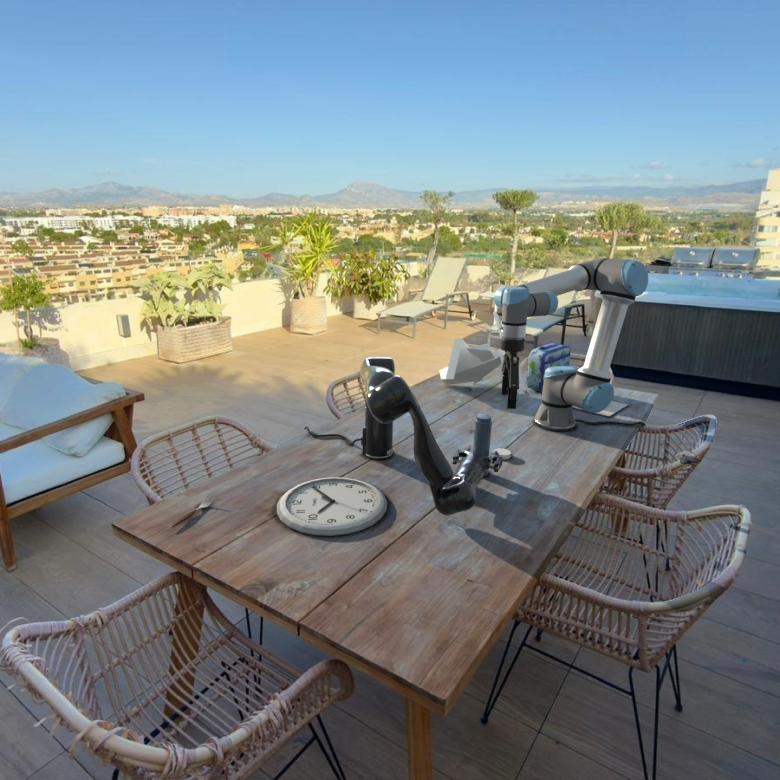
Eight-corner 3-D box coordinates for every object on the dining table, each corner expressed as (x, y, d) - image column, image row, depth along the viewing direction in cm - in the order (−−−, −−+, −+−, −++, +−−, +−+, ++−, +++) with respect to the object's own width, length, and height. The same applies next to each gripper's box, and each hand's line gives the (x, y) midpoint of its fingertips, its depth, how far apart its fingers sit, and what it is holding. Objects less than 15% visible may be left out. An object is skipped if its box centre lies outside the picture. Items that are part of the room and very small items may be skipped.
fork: (167, 528, 130) (166, 521, 130) (209, 498, 145) (208, 492, 144) (175, 530, 130) (174, 523, 129) (216, 500, 144) (216, 494, 143)
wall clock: (392, 527, 129) (268, 531, 127) (391, 533, 130) (269, 537, 127) (383, 473, 158) (282, 475, 155) (383, 478, 158) (282, 480, 156)
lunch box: (542, 395, 240) (547, 351, 233) (522, 390, 247) (526, 347, 241) (569, 384, 257) (575, 343, 251) (550, 380, 264) (554, 339, 258)
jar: (483, 468, 166) (487, 413, 161) (490, 475, 162) (495, 418, 156) (469, 470, 165) (472, 414, 159) (475, 477, 160) (479, 419, 155)
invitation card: (608, 416, 214) (573, 407, 224) (608, 416, 214) (573, 408, 224) (628, 404, 229) (594, 396, 238) (628, 405, 229) (594, 397, 238)
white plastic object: (461, 429, 252) (437, 405, 227) (444, 352, 274) (420, 323, 250) (535, 404, 240) (518, 377, 215) (510, 326, 262) (492, 293, 237)
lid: (502, 461, 172) (503, 456, 171) (489, 455, 176) (489, 450, 176) (514, 456, 175) (514, 452, 175) (500, 451, 180) (501, 446, 179)
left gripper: (496, 465, 145) (506, 443, 159) (446, 456, 150) (460, 436, 164) (494, 489, 147) (504, 466, 162) (445, 479, 152) (459, 458, 167)
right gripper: (495, 329, 176) (492, 389, 182) (506, 346, 152) (501, 414, 159) (518, 329, 175) (514, 389, 182) (532, 346, 152) (526, 415, 158)
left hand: (482, 451), depth 163 cm, fingers open, 8 cm apart
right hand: (508, 401), depth 170 cm, fingers open, 13 cm apart
